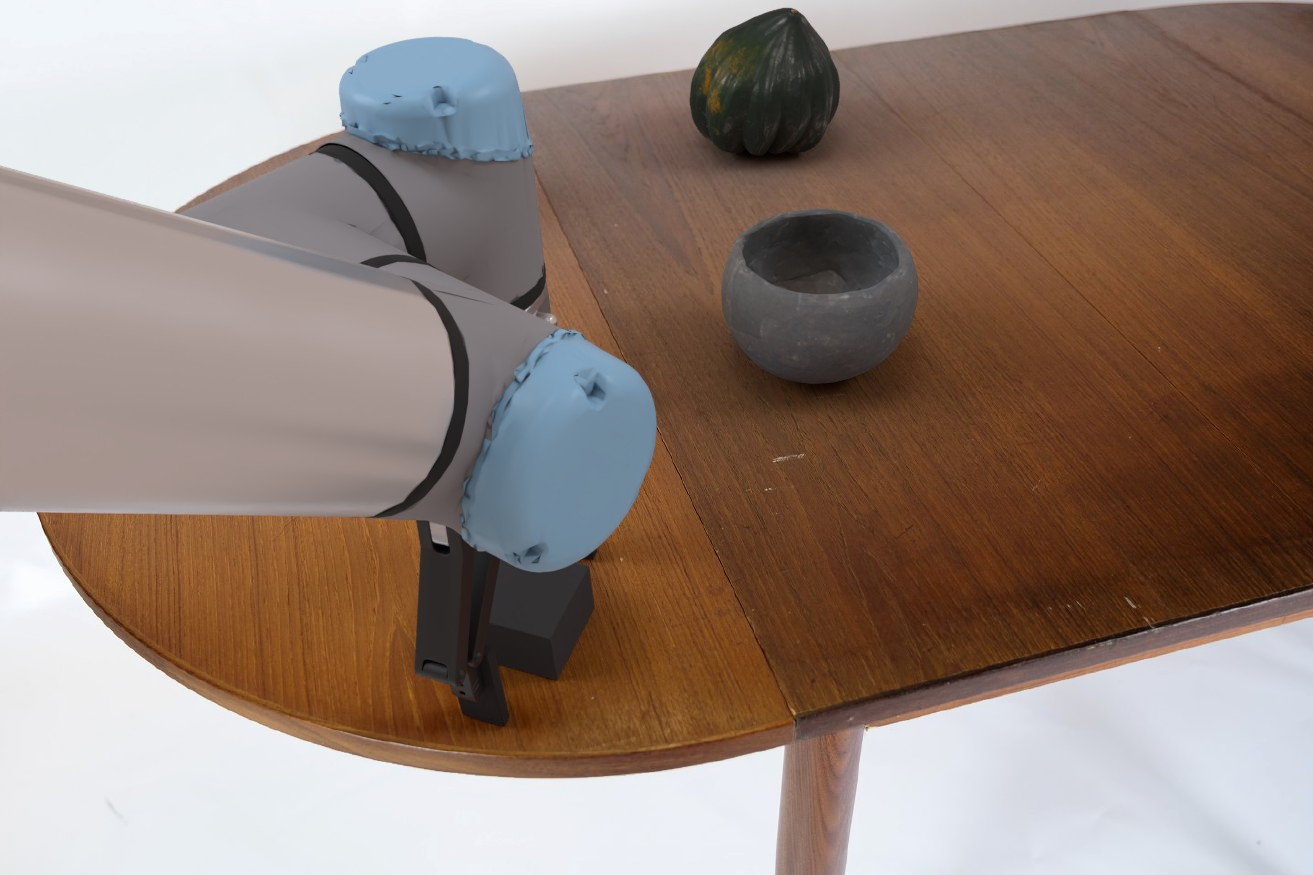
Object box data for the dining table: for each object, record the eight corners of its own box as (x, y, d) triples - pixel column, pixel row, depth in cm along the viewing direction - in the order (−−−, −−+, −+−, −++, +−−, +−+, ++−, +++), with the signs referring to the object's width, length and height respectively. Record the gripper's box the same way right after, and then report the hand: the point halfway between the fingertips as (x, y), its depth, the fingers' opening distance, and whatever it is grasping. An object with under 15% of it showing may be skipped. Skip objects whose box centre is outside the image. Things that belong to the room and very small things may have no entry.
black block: (557, 681, 68) (550, 639, 65) (468, 656, 69) (457, 614, 67) (595, 607, 72) (589, 565, 69) (510, 586, 74) (501, 543, 71)
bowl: (745, 429, 84) (746, 319, 78) (705, 317, 95) (703, 212, 89) (936, 402, 86) (953, 291, 79) (875, 294, 97) (885, 189, 90)
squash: (658, 73, 120) (702, -5, 106) (781, 49, 125) (839, -29, 111) (702, 196, 119) (752, 134, 105) (824, 168, 124) (888, 104, 109)
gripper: (429, 549, 47) (501, 818, 61) (639, 240, 64) (658, 505, 78) (277, 511, 49) (380, 780, 63) (520, 222, 66) (559, 483, 80)
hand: (534, 628), depth 71 cm, fingers open, 13 cm apart
